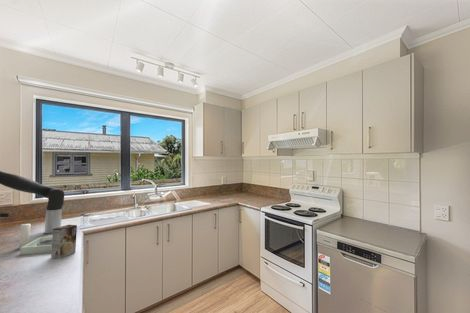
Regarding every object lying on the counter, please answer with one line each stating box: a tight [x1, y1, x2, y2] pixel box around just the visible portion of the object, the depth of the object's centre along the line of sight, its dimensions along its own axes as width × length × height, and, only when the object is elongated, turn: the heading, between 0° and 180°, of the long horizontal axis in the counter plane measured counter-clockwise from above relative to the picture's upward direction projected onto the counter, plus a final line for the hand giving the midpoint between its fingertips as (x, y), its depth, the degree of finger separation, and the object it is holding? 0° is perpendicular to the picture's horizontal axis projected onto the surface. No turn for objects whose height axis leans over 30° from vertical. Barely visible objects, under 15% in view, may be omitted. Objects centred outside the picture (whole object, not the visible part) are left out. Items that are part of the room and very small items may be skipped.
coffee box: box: [50, 224, 78, 260], centre depth 116 cm, size 9×6×16 cm
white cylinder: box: [18, 223, 32, 250], centre depth 125 cm, size 4×4×14 cm
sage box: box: [19, 235, 53, 255], centre depth 126 cm, size 18×16×4 cm
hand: (3, 216), depth 122 cm, fingers open, 8 cm apart
